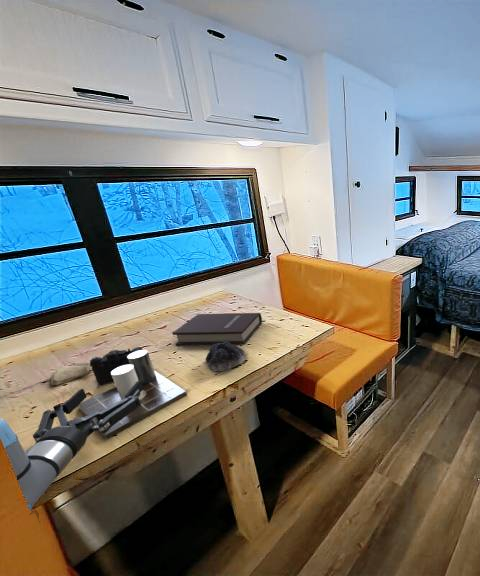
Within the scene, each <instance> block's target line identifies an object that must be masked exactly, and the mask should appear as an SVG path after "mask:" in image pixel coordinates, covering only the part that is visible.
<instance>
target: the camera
mask: <svg viewBox="0 0 480 576" xmlns="http://www.w3.org/2000/svg"><path fill="white" fill-rule="evenodd" d="M139 350H144V348H142V347H141V346H137V347H134V348H132V349H130V348H128V349H127V350H126V349H123V350H119V349H118V350H117V349H114V350H110V351H109V352H107V353H106V354H104V355H103V356H102V357H100V356H99V357H98V356H94V357H92V358H91V359H90V360H89V363H90V365H91V366H90V368H91V371H92V373H93V375H94V377H95V380H96V382H97V384H98V385H99V386H103V385H107V384H111V383H114V380H113V378H112V375H111V372H112V371H113V370H114V369H116V368H118V367H120V366H123V365H130V364H129V361H128V358H127V356H128V355H129V354H131V353H133V352H136V351H139Z"/></svg>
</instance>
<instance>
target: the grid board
mask: <svg viewBox="0 0 480 576" xmlns="http://www.w3.org/2000/svg"><path fill="white" fill-rule="evenodd" d="M154 372H155V375H156V379H155V380H154V381H153V382H151V383H149V384H146V385H142V386H143V390H142V391H143V396H142V397H141V398H140V399H139V400H140V403H141V406H139V407H138V408H137V409H135V410H134V411H133V412H131V413H130V414H128V415H127V416H126V417H124V418H123V419H121V420H120V421H119V422H117V423H116V424H114V425H113V426H112V427H111V428H110V429H109V430H108V431H107V432H106V433H103V434H102V436H103V437H104V438H105V439H106V440H109V439H111V438H113V437H114V436H116V435H119V434H120V433H122V432H124V431H126V430H127V429H128V428H130V427H132V426H134V425H136V424H138V423H141V421H143V420H145V419H146V418H147V419H148V418H149V417H151V416H152V415H155V414H156V413H158V412H160V411H161V410H164V409H165V408H166V407H169V406H170V405H172V404H174V403H176V402H178V401H179V400H181V399H183V398H184V397H186V396H188V392H187V391H186V390H185V389H183V388H182V387H181V386H179V385H178V384H176V383H175V382H173V381H172V380H170V379H168V378H167V377H165V376H164V375H163V374H161V373H160V372H158V371H156V370H155V369H154ZM119 401H121V398H120V396H119V393H118V391H117V388H116V386H114V387H113V388H110V389H109V390H106V391H103V392H101V393H100V394H96V395H95V396H93V397H91V398H89V399H86V400H83V401H82V402H81V403H80V404H79V405H78V406H77V408H78V410H80V412H81V413H82V414H83V415H84V417H86V416H89V415H91V414H93V413H95V412H101V411H102V410H104V409H106V408H108V407H110V406H112V405H114V404H116V403H117V402H119ZM93 421H94V424H96V423H97V420H96V418H93ZM99 433H101V431H99Z"/></svg>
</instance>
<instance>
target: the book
mask: <svg viewBox="0 0 480 576" xmlns="http://www.w3.org/2000/svg"><path fill="white" fill-rule="evenodd" d="M262 324H263V318H262V314H261V312H234V313H231V312H230V313H228V312H227V313H198V314H196V315H194V317H192V318H190V319H189V320H188V321H186V322H185V323H183V324H182V325H181V326H179V327H177V329H176V330H174V331H173V332H172V335H173V336H176V338H177V342H175V347H179V346H185V347H186V346H187V347H188V346H190V347H191V346H212V345H213V344H217V343H224V342H225V341H227V342H230V344H232V345H235V346H238V345H241V344H244V345H246V344H247V342H248V341H249V340H250V339H251V337H253V335H254V334H255V333H256V331H257V330H258V329H259V328H260V327H261V325H262ZM259 326H260V327H259ZM254 332H255V333H254ZM249 338H250V339H249ZM241 346H242V345H241Z"/></svg>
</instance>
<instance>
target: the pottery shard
mask: <svg viewBox="0 0 480 576" xmlns="http://www.w3.org/2000/svg"><path fill="white" fill-rule="evenodd" d="M89 368H91V365H90V362H89V363H87V364H84V365H63V366H61V367H60V368H58V369H57V370H56V371H55V373H54V374H53V375H52V377H51V378H50V385H51V386H59V385H61V384H65V383H68V382H71V381H73V380H76V379H77V378H81V377H83V376H86V375H88V374H89V373H90V370H89Z"/></svg>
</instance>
